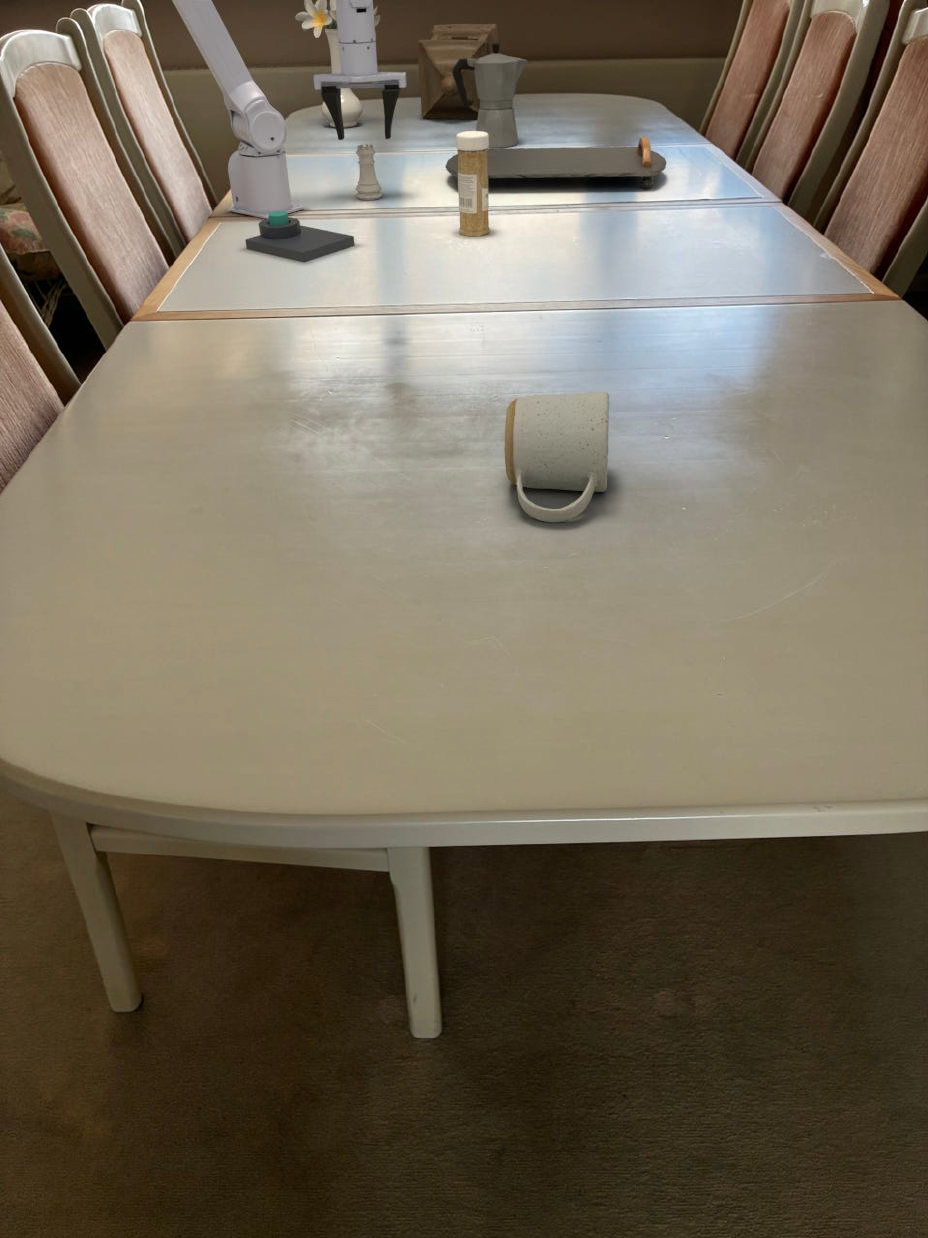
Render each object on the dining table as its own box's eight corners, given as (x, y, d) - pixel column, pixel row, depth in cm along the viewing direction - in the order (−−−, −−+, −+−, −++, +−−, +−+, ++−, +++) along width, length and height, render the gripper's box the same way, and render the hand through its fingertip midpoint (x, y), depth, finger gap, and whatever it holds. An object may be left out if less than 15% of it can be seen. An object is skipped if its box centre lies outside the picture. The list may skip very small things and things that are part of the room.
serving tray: (441, 193, 162) (439, 153, 159) (451, 165, 181) (450, 129, 177) (671, 191, 160) (675, 150, 156) (658, 162, 178) (661, 125, 175)
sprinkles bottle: (495, 233, 141) (495, 132, 133) (469, 238, 139) (467, 136, 131) (478, 227, 144) (476, 128, 136) (452, 232, 142) (449, 132, 134)
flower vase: (384, 128, 215) (375, -4, 200) (302, 131, 215) (287, -2, 201) (388, 119, 226) (380, -8, 211) (310, 121, 226) (297, -6, 211)
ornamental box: (481, 138, 217) (491, 44, 205) (404, 127, 217) (410, 33, 206) (496, 108, 244) (506, 24, 233) (428, 99, 245) (434, 14, 233)
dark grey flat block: (242, 248, 138) (239, 226, 136) (293, 233, 144) (291, 211, 143) (304, 262, 132) (301, 240, 130) (354, 246, 138) (352, 224, 136)
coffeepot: (521, 137, 202) (522, 38, 192) (533, 145, 195) (535, 42, 184) (449, 142, 200) (446, 42, 189) (459, 151, 192) (456, 47, 182)
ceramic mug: (510, 460, 82) (510, 375, 77) (607, 463, 81) (613, 377, 76) (499, 525, 74) (498, 434, 69) (607, 529, 73) (613, 437, 68)
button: (265, 225, 138) (264, 213, 137) (280, 221, 140) (278, 209, 139) (278, 228, 137) (277, 216, 136) (293, 223, 138) (291, 212, 138)
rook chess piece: (386, 195, 163) (383, 143, 158) (376, 201, 160) (372, 148, 155) (362, 193, 164) (358, 142, 159) (351, 199, 161) (347, 147, 156)
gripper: (306, 45, 146) (316, 143, 154) (401, 42, 145) (406, 141, 153) (314, 40, 151) (323, 135, 159) (405, 38, 151) (410, 133, 159)
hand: (364, 138), depth 157 cm, fingers open, 7 cm apart
